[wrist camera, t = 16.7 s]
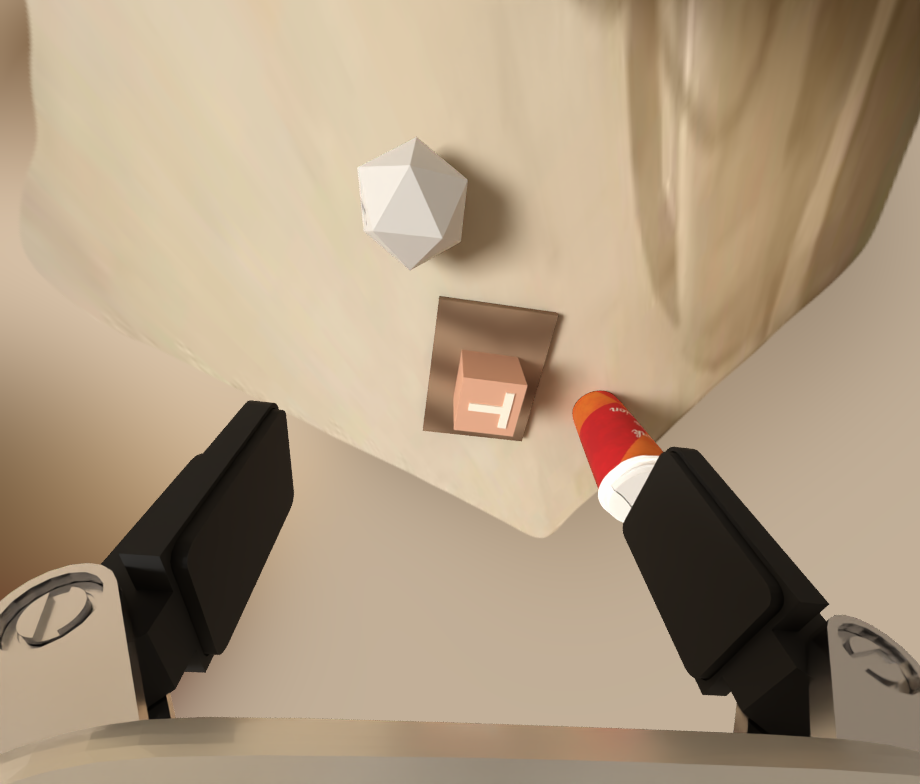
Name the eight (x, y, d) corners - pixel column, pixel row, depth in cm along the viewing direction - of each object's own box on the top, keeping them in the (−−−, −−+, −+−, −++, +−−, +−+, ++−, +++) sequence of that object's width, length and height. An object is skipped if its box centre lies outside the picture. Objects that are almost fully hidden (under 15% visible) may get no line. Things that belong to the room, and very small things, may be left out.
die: (406, 117, 31) (318, 149, 26) (498, 150, 29) (422, 193, 23) (407, 215, 38) (336, 258, 32) (482, 249, 35) (419, 300, 30)
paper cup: (632, 424, 47) (695, 515, 35) (571, 443, 48) (611, 537, 36) (622, 372, 43) (689, 454, 31) (555, 394, 44) (595, 480, 32)
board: (439, 296, 38) (439, 299, 37) (556, 312, 39) (558, 315, 38) (423, 425, 46) (422, 430, 45) (520, 436, 47) (521, 441, 46)
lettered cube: (461, 349, 40) (463, 378, 35) (517, 357, 41) (527, 386, 35) (453, 397, 43) (453, 430, 38) (505, 404, 44) (513, 437, 38)
